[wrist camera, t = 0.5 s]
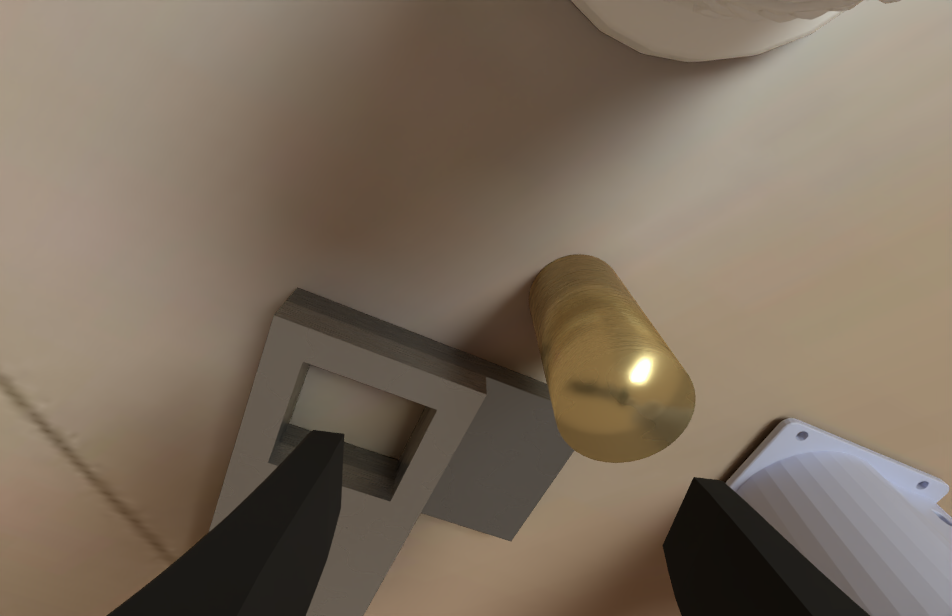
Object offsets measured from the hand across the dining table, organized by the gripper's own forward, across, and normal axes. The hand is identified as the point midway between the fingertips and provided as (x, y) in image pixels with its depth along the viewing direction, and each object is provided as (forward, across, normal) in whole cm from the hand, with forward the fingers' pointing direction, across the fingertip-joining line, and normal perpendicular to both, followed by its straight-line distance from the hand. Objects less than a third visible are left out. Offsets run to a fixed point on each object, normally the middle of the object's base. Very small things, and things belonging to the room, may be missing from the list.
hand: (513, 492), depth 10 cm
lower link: (+10, +3, +6) cm, 12 cm away
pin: (+10, -3, 0) cm, 10 cm away
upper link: (+10, +6, +10) cm, 15 cm away
